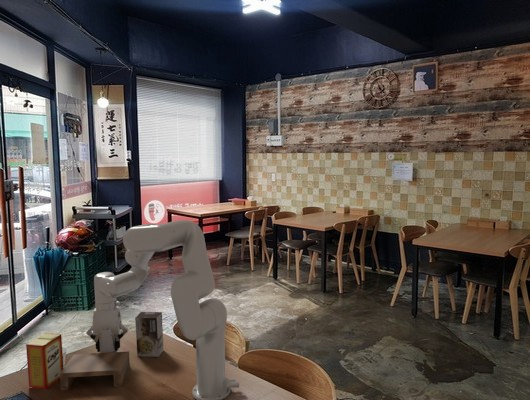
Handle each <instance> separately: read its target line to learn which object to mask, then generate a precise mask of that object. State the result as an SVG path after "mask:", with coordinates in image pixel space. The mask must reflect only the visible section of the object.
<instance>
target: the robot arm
mask: <svg viewBox="0 0 530 400" xmlns="http://www.w3.org/2000/svg"><path fill="white" fill-rule="evenodd" d="M122 241H123V242H122V243H123V246H124V248H125V249H126V251H125V254H124V258H125V261H126V262H127V263H128V265H130V266H131V268H130V269H129V270H128V271H127V272H123V273H119V274H117V275H115V274H114V272H110V271H103V272H98V273H97V274H95V275H94V278H93V286H94V287H93V288H94V303H95V304H94V306H95V308H93V314H92V326H90V327H89V329H88V330H87V331H86V332H85V333H86V335H87V336H88V337H90V339H91V340H93V341H94V343H95V349H96V351H97V352H96V353H100V343H99V335H100V330H102V329H103V328H108V329H110V330H111V332H112V334H113V335H114V337H115V339H116V341H115V351H117V352H119V350H120V348H121V339H122V338H123V337H124V336H125V335H126V334H127V333H128V331H129V328H128V327H126V326H125V325H124V324H123V323H122V314H121V310H120V307H119V306H121V301H119V300H118V299H117V298H119V297H122V296H124V295H126V294H128V293H131V292H133V291H136V290H138V289H139V288H140V287H141V285H143V283H144V282H145V279H147V276H148V274H149V264H148V263H149V261H150V260H151V258H152V257H153V255H154V254H155V253H157V252H165V251H167V250H171V249H174V248H178V247H180V246H182V252H181V262H182V265H183V269H184V273H182V274H180V275H178V276H177V277H175V278H174V279H173V281H172V283H171V286H170V296H171V301H172V305H173V309H174V312H175V313H174V314H175V317H176V321H177V325H178V328H179V330H180V332H181V334H182V335H183V337H185V338H186V339H188V340H191V341H195V359H196V360H195V361H196V363H195V364H196V366H195V367H196V368H195V369H196V370H195V371H196V384H195V385H194V386H193V388H192V391H191V393H192V397H193V398H194V399H196V400H224V399H226V398H227V397H228V396H229V395H230V394H231V388H238V389H239V388H240V381H239V380H237V381H236V378H228V377H227V374H226V339H225V338H226V327H227V320H228V311H227V307H226V304H224V303H223V302H222V300H220V299H218V298H208V299H205V300H203V301H202V302H200V300H202V299H204V298H206V297H207V296H209V295H211V294H212V293H213V292H214V291H215V288H216V283H215V278H214V274H213V270H212V266H211V262H210V259H209V256H208V251H207V246H206V241H205V235H204V232H203V230H202V228H201V227H200V226H199V224H197V223H196V222H194V221H191V220H187V219H181V220H175V221H174V220H173V221H170V222H166V223H165V222H164V223H161V224H160V223H159V224H157V223H156V224H155V223H146V224H141V225H135V226H132V227H129V228H128V229H127V230H126V231H125V232H124V235H123V238H122ZM120 332H121V333H120Z"/></svg>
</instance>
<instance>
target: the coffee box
mask: <svg viewBox="0 0 530 400" xmlns="http://www.w3.org/2000/svg"><path fill="white" fill-rule="evenodd" d="M134 321H135V336H136V337H135V338H136V356H137V357H153V358H155V357H156V358H159V357H160V355H162V353H163V352H164V335H163V334H164V332H163V331H164V330H163V312H162V311H140V312H139V313H138V314H137V315H136V316H135V317H134Z"/></svg>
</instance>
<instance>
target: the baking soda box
mask: <svg viewBox="0 0 530 400" xmlns="http://www.w3.org/2000/svg"><path fill="white" fill-rule="evenodd" d="M62 339H63V338H62V334H60V333H47V332H46V333H45V332H44V333H43V334H40V336H38V337H36V338H34V339H33V340H31V341H29V342H28V343H26V344H25V348H26V362H27V365H26V366H27V375H28V376H27V377H28V378H27V379H28V388H29V387H32V388H31V389H34V388H38V389H37V390H44V389H45V390H48V389H49V388H50V387H51V386H52V385H54V384H56V383H57V382H58V381H59V380H60V373H61V371H62V370H63V368H64V357H63V356H64V354H63V345H62V344H63V342H62V341H63V340H62Z"/></svg>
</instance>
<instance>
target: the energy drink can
mask: <svg viewBox="0 0 530 400" xmlns="http://www.w3.org/2000/svg"><path fill="white" fill-rule="evenodd" d="M115 341H116V339H115V337H114V335H113V334H112V332H111V330H110V329H108V328H103V329H102V330H100V335H99V343H100V352H99V353H110V352H118V351H115Z"/></svg>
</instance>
